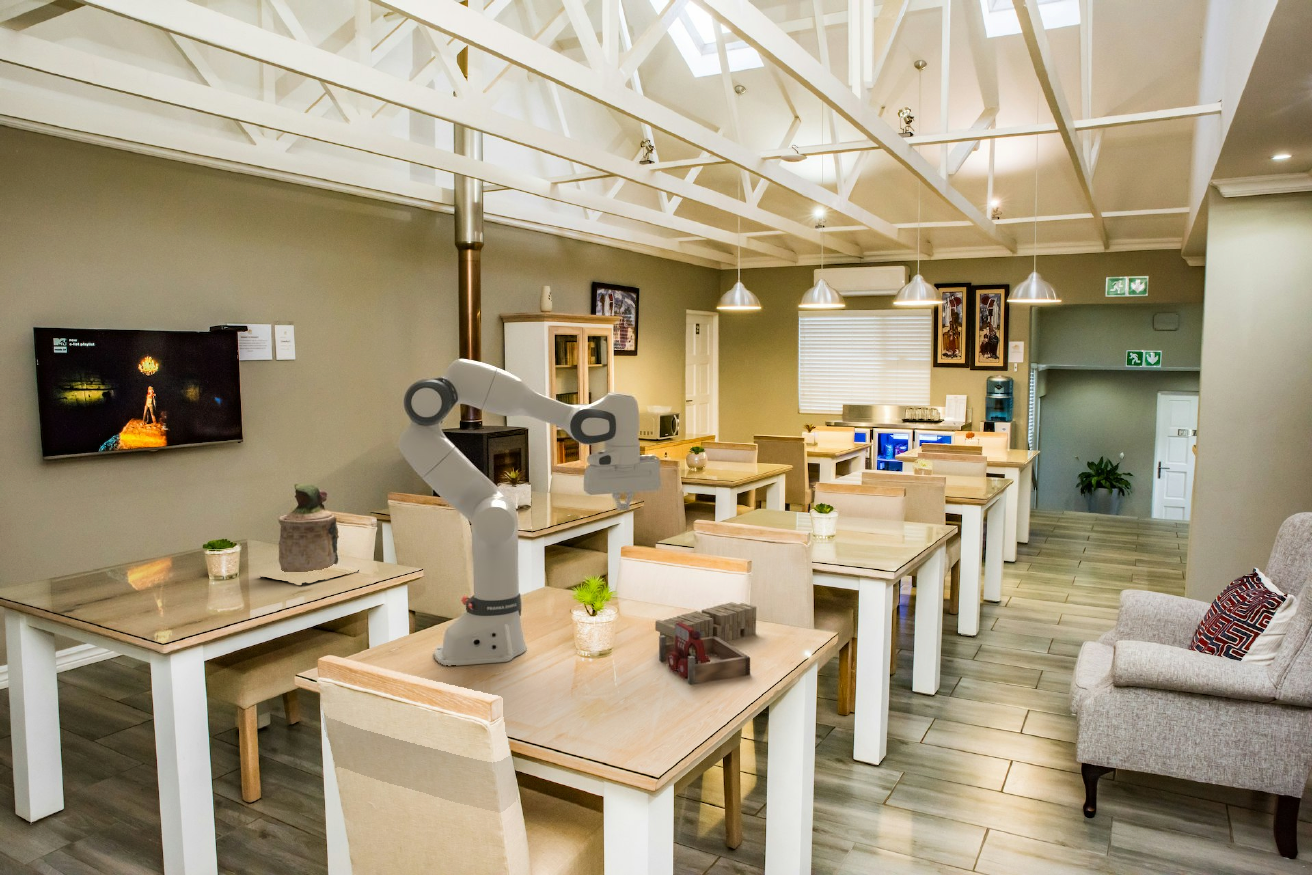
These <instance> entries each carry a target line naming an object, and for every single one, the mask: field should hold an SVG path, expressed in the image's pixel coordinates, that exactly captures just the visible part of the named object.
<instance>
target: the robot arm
mask: <svg viewBox="0 0 1312 875" xmlns="http://www.w3.org/2000/svg"><path fill="white" fill-rule="evenodd" d="M405 391H406V392H405V393H404V397H403V407H404V411H405V413H406V414H407V416H408V418H409V424H408V426H407V427H406V428H405V429H404V430H403V432H402V433H401V434H400V436H399V438H398V441H397V442H398V443H397V444H398V445H397V446H398V450H399V451H400V453H401V455H402V456H403V457H404V460H406V462H407V463H408V464H409V465H410V467H411V468H412V469H413V471H415V472H416V474H417V475H418V476H420V478H421V479H422V480H423V481H424V482H425V483H426V484H427V485H428V486H429V487H430V488H431V489H432V490H433V491H434V492H435V493H436V494H437V495H438V496H440V498H441V499H442V500H443V501H445V503H447V504H449V506H451V507H453V508H454V509H455V510H456V511H457V512H459V513H460V514H461V515H462V516H463V517H464V518H465V519H467V521H469V522H470V524H471V545H472V547H471V549H472V569H473V570H472V571H473V573H472V574H473V575H472V576H473V577H472V578H473V595H472V596H471V597H469V596H468V595H464V596H462V597H461V600H460V601H461V603H462V604H463V605H464V606H465V612H463V614H462V615H461V616H459V617H458V618H457V619H456V620H455V621H454V622H452V623H451V624H449V626H448V627H446V629H445V632H444V637H443V641H442V645H438V646H437V647H436V648H435V649H434V651H433V652H434V653H433V657H434V659H435V661H438V663H439V664H440V663H441V664H440V665H442V664H443V665H442V666H446V665H448V666H447V667H452V666H451V665H456V666H467V665H478V664H479V665H480V664H482V665H483V664H494V663H506V662H510V661H511V660H513V659H514V658H515V657H517V656H519V655H522V654H524V652H526V650H527V644H526V641H525V638H524V633H523V627H522V621H521V616H522V597H521V595H522V594H521V593H520V590H519V589H520V587H519V586H520V585H519V584H520V583H519V582H520V581H519V577H520V576H519V520H518V519H519V518H518V513H517V508H516V505H515V503H514V501H513V500H512V499H511V498H510V497H509V496H508V495H507V494H506V493H505V492H504V491H503V490H501V489H500V488H499V486H497V485H496V484H495V483H494V482H493V481H492V480H491V479H489V477H487V476H486V475H485V474H484V473H483V472H482V471H481V470H479V469H478V468H477V467H476V466H475V465H474V463H472V462H471V461H470V459H469V458H467V457H466V455H464V453H463V452H462V451H461V450H459V448H458V447H456V445H455V444H454V443H453V442H452V441H451V440H450V439H449V438H448V437H447V436H446V435H445V433H444V432H443V429H442V424H443V422H444V420H445V419H446V418H447V417H448V415H449V414H450V412H451V410H452V409H453V408H454V407H455V405H459V404H461V405H467V406H470V407H474V408H476V409H478V410H481V411H484V412H486V413H490V414H494V415H499V416H505V417H514V416H515V417H517V416H523V417H524V416H525V417H530V418H534V419H537V420H539V421H542V422H545V423H548V424H549V425H553V426H556V427H557V428H560V429H561V430H562V431H564V432H565V434H566V435H567V436H568V437H569V438H571V439H572V440H573V441H576V442H578V443H580V444H583V445H587V446H589V445H591V446H592V445H595V444H599V443H602V442H604V449H603V450H600V451H597V452H594V453H591V454H588V455H587V457H586V461H587V463H588V465H587V466H586V468H585V470H584V472H583V473H584V475H583V491H584V493H586V494H587V495H589V496H595V495H611V497H612V499H613V500H614V502H615V504H616V510H617V511H630V509H631V508H630V507H631V506H630V503H631V502H632V500H633V499H634V497H635V496H634V493H639V492H642V493H643V492H653V491H654V492H655V491H659V490H660V489H661V487H662V480H661V478H662V477H661V472H660V470H661V460H660V458H659V457H658V456H656V455H655V454H648V455H647V454H646V455H645V454H644V455H643V454H642V455H641V454H640V453H641V448H640V440H639V432H640V431H639V430H640V411H639V405H638V401H637V399H636V398H635V397H634V396H633V395H630V394H625V393H619V392H615V391H614V392H608V393H607V394H606V395H604V396H603V397H602V398H600V399H598V400H596V401H594V402H592V403H590V404H586V403H579V404H578V403H577V404H576V403H575V404H570V403H569V404H568V403H565V402H562V401H559V400H557V399H554V398H551V397H548V396H546V395H543V394H540V393H539V392H537V391H535V390H533V388H531V387H530V386H529V385H528V384H526V382H524V381H523V380H522V379H520V378H519V377H518V376H516V375H514V374H512V373H510V372H508V371H506V370H504V369H501V368H498V367H496V366H494V365H491V364H489V363H488V364H487V363H484V362H481V361H476V360H471V359H466V358H458V359H455V360H453V361H452V362H451V363H450V364H449V365H448V366H447V368H446V369H445V372H444V374H443V376H440V377H435V378H434V377H433V378H423V379H419V380H416V381H415V382H414V383H412V384H411V385H409V387H408V388H407V390H405ZM621 494H625V496H627V497H626V499H625V500H624V502H621V501H620V499H619V498H620V497H621Z"/></svg>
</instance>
